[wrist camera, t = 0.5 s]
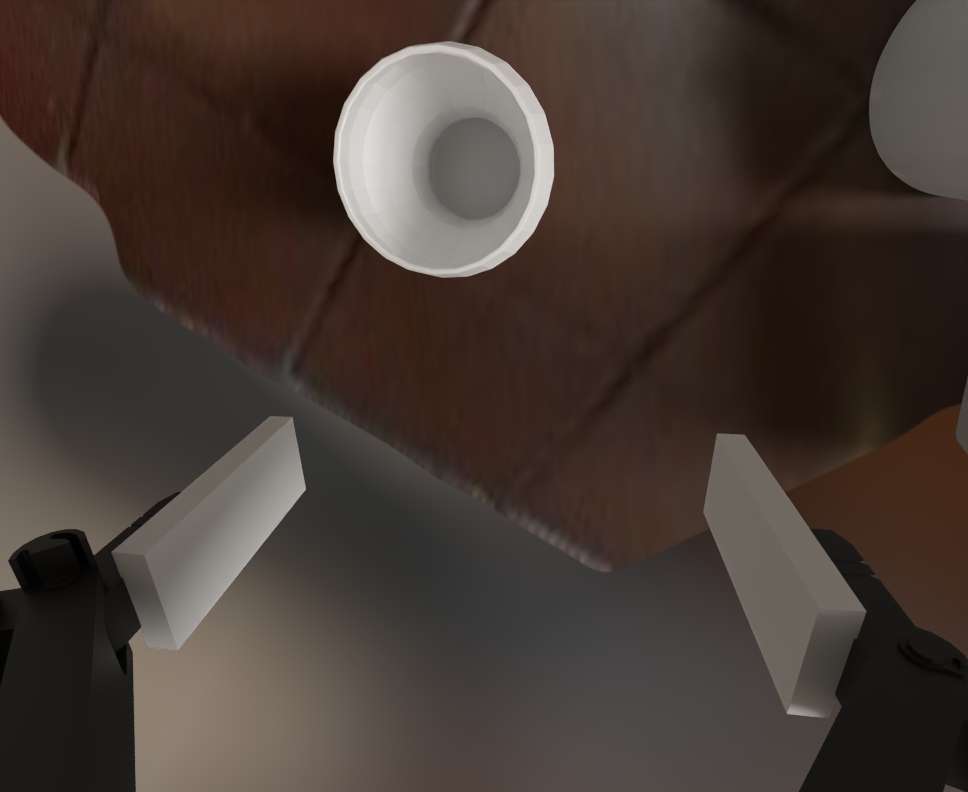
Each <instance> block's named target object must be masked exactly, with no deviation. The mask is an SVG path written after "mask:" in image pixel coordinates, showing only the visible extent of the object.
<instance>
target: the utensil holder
mask: <svg viewBox="0 0 968 792" xmlns="http://www.w3.org/2000/svg"><path fill="white" fill-rule="evenodd" d="M869 121H870V130H871V135H872V139H873V142H874V144H875V147H876V149H877V152H878V154H879V156H880V157H881V159H882V160H883V162H884V163H885V165H886V166H887V167H888V168H889V169H890V171H891V172H892V173H893V174H894V175H896V176H897V177H898V178H899V179H900V180H902V181H903V182H905V183H906V184H908V185H909V186H911V187H913V188H915V189H917V190H920V191H923V192H926V193H929V194H933V195H937V196H942V197H948V198H954V199H960V200H967V201H968V0H916V1H915V2H914V4H913V5H912V6H911V7H910V8H909V9H908V11H907V12H906V13H905V15H904V16H903V18H902V19H901V20H900V22H899V23H898V25H897V26H896V28H895V29H894V31H893V33H892V35H891V36H890V38H889V40H888V42H887V44H886V46H885V48H884V50H883V52H882V54H881V56H880V59H879V61H878V64H877V67H876V70H875V73H874V76H873V80H872V84H871V91H870V98H869Z"/></svg>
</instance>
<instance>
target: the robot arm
mask: <svg viewBox="0 0 968 792" xmlns="http://www.w3.org/2000/svg"><path fill="white" fill-rule="evenodd" d="M305 490H306V488H305V482H304V477H303V472H302V466H301V461H300V455H299V450H298V445H297V439H296V434H295V429H294V424H293V418H292V417H273V416H270V417H269V418H268V419H267V420H265V421H264V422H263V423H262V424H261V425H260V426H259V427H257V428H256V429H255V430H254V431H252V432H251V433H250V434H249V435H248V436H247V437H245V438H244V439H243V440H242V441H241V442H240V443H239V444H237V445H236V446H235V447H234V448H233V449H231V451H229V452H228V453H227V454H226V455H225V456H223V457H222V458H221V459H220V460H219V461H217V462H216V463H215V464H214V465H213V466H212V467H210V468H209V469H208V470H207V471H206V472H204V473H203V474H202V475H201V476H200V477H199V478H197V479H196V480H195V481H194V482H193V483H192V484H190V485H189V486H188V487H187V488H186V489H185V490H184V491H182V492H177V493H175V494H173V495H171V496H169V497H167V498H165V499H163V500H162V501H160V502H158V503H157V504H156V505H154V506H153V507H152V508H151V509H149V510H148V511H147V512H146V513H145V514H144V515H143V517H140V518H139V519H137V520H136V521H135V522H134V523H133V524H132V525H131V527H128V528H126V529H125V530H124V531H123V532H122V533H120V534H119V535H118V536H117V537H116V538H114V539H113V540H112V541H111V542H110V543H109V544H107V545H106V546H105V547H104V548H102V550H100V551H99V552H98V553H97V554H95V555H93V553H92V550H91V548H90V546H89V543H88V541H87V538H86V536H85V533H84V532H83V531H80V530H77V529H65V530H60V531H56V532H51V533H49V534H46V535H43V536H40V537H38V538H35V539H34V540H32V541H30V542H28V543H26V544H24V545H23V546H21V547H20V548H19V549H18V550H16V551H15V552H14V553H13V554H12V556H11V557H10V559H9V560H8V561H9V564H10V565H11V568H12V570H13V572H14V574H15V576H16V578H17V580H18V582H19V584H20V586H21V588H18V589H12V590H5V591H0V792H136V786H135V739H134V694H133V653H132V650H131V647H130V645H129V642H128V641H129V640H130V639H131V638H132V637H133V635H134V634H135V633H136V632H137V631H138V630H139V629H140V628H141V631H142V633H143V635H144V638H145V641H146V643H147V646H148V647H152V648H162V649H172V650H179V648H180V647H181V646H182V645H183V643H184V642H185V641H186V639H187V638H188V637H189V636H190V634H191V633H192V632H193V631H194V629H195V628H196V627H197V626H198V624H199V623H200V621H202V619H203V618H204V617H205V615H206V614H207V613H208V612H209V611H210V609H211V608H212V607H213V605H214V604H215V603H216V602H217V600H218V599H219V598H220V596H221V595H222V594H223V593H224V592H225V590H226V589H227V588H228V587H229V585H230V584H231V583H232V582H233V580H234V579H235V578H236V577H237V575H238V574H239V573H240V571H241V570H242V569H243V568H244V566H245V565H246V564H247V563H248V561H249V560H250V559H251V558H252V556H253V555H254V554H255V553H256V551H257V550H258V549H259V547H260V546H261V545H262V544H263V543H264V541H265V540H266V539H267V537H268V536H269V535H270V534H271V532H272V531H273V530H274V529H275V527H276V526H277V525H278V524H279V522H280V521H281V520H282V519H283V517H284V516H285V515H286V514H287V512H288V511H289V510H290V509H291V507H292V506H293V505H294V503H295V502H296V501H297V500H298V498H299V497H300V496H301V495H302V493H303V492H304V491H305ZM704 515H705V517H706V520H707V522H708V524H709V527H710V529H711V532H712V534H713V537H714V539H715V541H716V544H717V546H718V549H719V551H720V553H721V556H722V558H723V560H724V563H725V565H726V568H727V570H728V573H729V575H730V578H731V580H732V582H733V585H734V587H735V590H736V592H737V594H738V597H739V599H740V602H741V604H742V607H743V609H744V611H745V614H746V616H747V619H748V621H749V623H750V626H751V628H752V631H753V633H754V635H755V638H756V640H757V643H758V645H759V647H760V650H761V652H762V655H763V657H764V659H765V662H766V664H767V667H768V669H769V672H770V674H771V677H772V679H773V681H774V684H775V686H776V689H777V691H778V693H779V696H780V698H781V701H782V703H783V705H784V708H785V710H786V713H787V714H793V715H803V716H813V717H823V718H829V716H830V714H831V711H832V708H833V705H834V702H835V699H836V697H837V699H838V700H839V702H840V704H841V706H842V708H841V710H840V712H839V714H838V716H837V717H836V719H835V722H834V723H833V725H832V727H831V729H830V731H829V733H828V735H827V737H826V739H825V741H824V743H823V745H822V747H821V749H820V751H819V753H818V755H817V757H816V759H815V761H814V763H813V765H812V767H811V769H810V771H809V773H808V775H807V777H806V779H805V781H804V783H803V785H802V787H801V789H800V790H799V792H943V790H944V787H945V784H947V785H949V786H952V787H955V788H957V789H960V790H963V791H965V792H968V659H967V658H966V656H965V655H964V654H963V653H962V652H960V651H959V650H958V649H957V648H956V647H955V646H953V645H952V644H951V643H950V642H948V641H946V640H944V639H943V638H941V637H939V636H937V635H936V634H934V633H932V632H929V631H926V630H923V629H921V628H918V627H916V626H915V625H914V624H913V622H912V621H911V620H910V619H909V617H908V616H907V615H906V613H905V612H904V611H903V610H902V608H901V607H900V606H899V604H898V603H897V602H896V600H895V599H894V598H893V597H892V595H891V594H890V593H889V592H888V590H887V589H886V588H885V586H884V585H883V584H882V583H881V581H880V580H879V579H876V575H875V573H874V572H873V571H872V570H871V568H870V567H869V566H868V565H866V564H865V560H864V559H863V558H862V557H861V555H860V554H859V553H858V551H857V550H856V549H855V548H854V546H853V545H852V544H850V543H849V542H848V541H846V540H845V539H843V538H842V537H841V536H839V535H838V534H837V533H835V532H834V531H833V530H823V529H809V528H808V526H807V524H806V523H805V522H804V520H803V519H802V517H801V516H800V514H799V513H798V512H797V510H796V508H795V507H794V506H793V504H792V503H791V501H790V500H789V498H788V497H787V495H786V494H785V493H784V491H783V490H782V488H781V487H780V485H779V484H778V482H777V481H776V479H775V478H774V477H773V475H772V474H771V472H770V471H769V469H768V468H767V466H766V465H765V463H764V462H763V461H762V459H761V458H760V456H759V455H758V453H757V452H756V450H755V449H754V448H753V446H752V445H751V443H750V442H749V440H748V439H747V437H746V436H745V435H738V434H717V436H716V442H715V448H714V453H713V459H712V465H711V471H710V477H709V483H708V488H707V494H706V500H705V506H704Z"/></svg>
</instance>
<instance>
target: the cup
mask: <svg viewBox="0 0 968 792" xmlns="http://www.w3.org/2000/svg"><path fill="white" fill-rule="evenodd" d="M333 164H334V170H335V177H336V183H337V189H338V192H339V195H340V197H341V200H342V202H343V205H344V207H345V210H346V212H347V215H348V217H349V219H350V220H351V221H352V223H353V224H354V226H355V227H356V228H357V230H358V231H359V233H360V234H361V236H362V237H363V238H364V240H365V241H366V242H367V243H369V244H370V245H371V246H372V247H373V248H374V249H375V250H376V251H378V252H379V253H380V254H381V255H382V256H383V257H384V258H386V259H388V260H390V261H392V262H394V263H396V264H398V265H400V266H402V267H404V268H405V269H407V270H411V271H415V272H420V273H424V274H429V275H433V276H437V277H442V278H444V277H466V276H471V275H474V274H477V273H480V272H483V271H486V270H489V269H492V268H494V267H495V266H497V265H498V264H500V263H501V262H503V261H504V260H506V259H507V258H509V257H510V256H512V255H513V254H515V253H516V252H517V251H518V249H519V248H520V247H521V246H522V245H523V244H524V243H525V242H526V240H527V239H528V238H529V237H530V236H531V235H532V234H533V232H534V230H535V229H536V227H537V225H538V223H539V221H540V219H541V217H542V215H543V213H544V211H545V209H546V207H547V205H548V200H549V196H550V192H551V187H552V183H553V179H554V146H553V142H552V138H551V135H550V131H549V127H548V123H547V120H546V116H545V113H544V111H543V109H542V107H541V106H540V104H539V102H538V100H537V98H536V97H535V95H534V93H533V91H532V90H531V88H530V86H529V85H528V84H527V83H526V82H525V81H524V80H523V79H522V78H521V77H520V75H519V74H518V73H517V72H516V71H515V70H514V69H513V68H512V67H511V66H510V65H509V64H508V63H507V62H505V61H503V60H501V59H500V58H498V57H496V56H494V55H492V54H491V53H489V52H487V51H485V50H483V49H481V48H480V47H475V46H471V45H466V44H461V43H456V42H451V41H447V42H438V43H429V44H421V45H415V46H409V47H407V48H404V49H402V50H400V51H398V52H396V53H393V54H391V55H389V56H387V57H385V58H382V59H381V60H380V61H379V62H378V63H377V64H375V65H374V66H373V67H372V68H371V69H370V70H369V71H368V72H367V73H365V74H364V75H363V76H362V77H361V78H360V79H359V81H358V82H357V84H356V85H355V87H354V89H353V90H352V92H351V93H350V95H349V96H348V98H347V100H346V101H345V103H344V105H343V109H342V112H341V115H340V118H339V121H338V124H337V127H336V131H335V141H334V155H333Z"/></svg>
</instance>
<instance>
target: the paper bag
mask: <svg viewBox="0 0 968 792" xmlns="http://www.w3.org/2000/svg"><path fill="white" fill-rule="evenodd" d="M956 439H957V441H958V443H959V444H960V446H961V447H962V448H963V449H964V450H965V451H966V452H967V454H968V377H967V381H966V386H965V391H964V395H963V400H962V404H961V409H960V413H959V418H958V423H957V427H956Z"/></svg>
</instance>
